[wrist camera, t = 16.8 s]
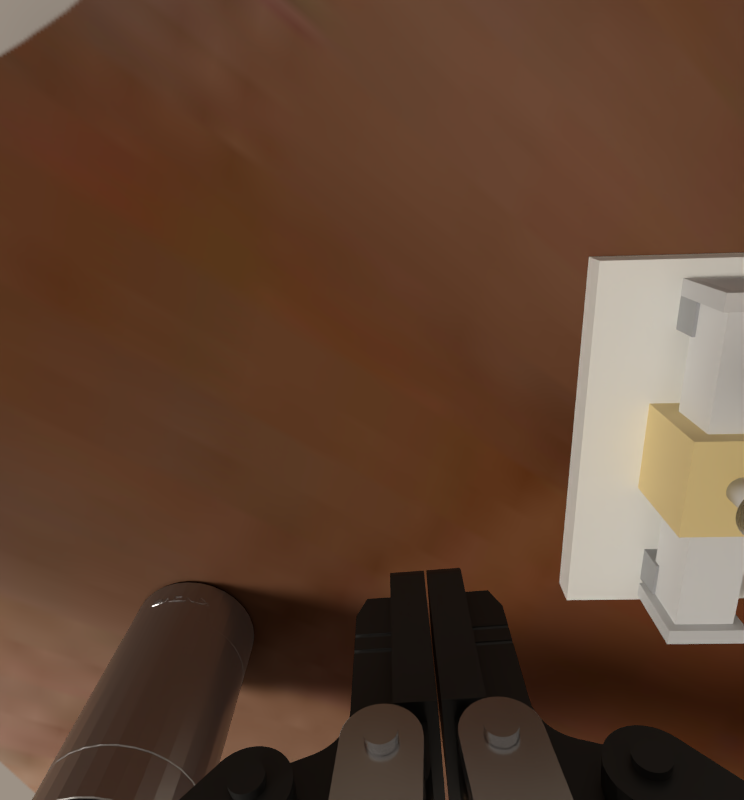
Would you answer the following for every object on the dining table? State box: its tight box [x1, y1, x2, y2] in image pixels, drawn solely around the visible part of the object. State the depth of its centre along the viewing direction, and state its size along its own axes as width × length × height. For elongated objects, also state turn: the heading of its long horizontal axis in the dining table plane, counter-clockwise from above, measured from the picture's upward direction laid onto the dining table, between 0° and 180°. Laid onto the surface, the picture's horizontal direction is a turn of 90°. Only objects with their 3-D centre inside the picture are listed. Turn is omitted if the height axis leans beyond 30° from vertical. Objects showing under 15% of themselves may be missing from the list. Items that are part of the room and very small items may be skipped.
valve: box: [559, 253, 744, 644], centre depth 37 cm, size 24×14×10 cm, turn 2°
